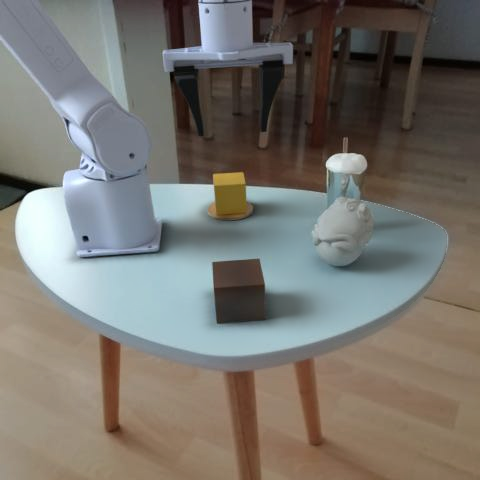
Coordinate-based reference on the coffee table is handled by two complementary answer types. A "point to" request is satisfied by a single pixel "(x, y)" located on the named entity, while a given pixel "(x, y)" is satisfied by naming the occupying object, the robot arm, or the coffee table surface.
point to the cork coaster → (229, 216)
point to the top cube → (230, 193)
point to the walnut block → (238, 290)
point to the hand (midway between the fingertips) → (232, 131)
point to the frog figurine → (343, 231)
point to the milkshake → (345, 175)
